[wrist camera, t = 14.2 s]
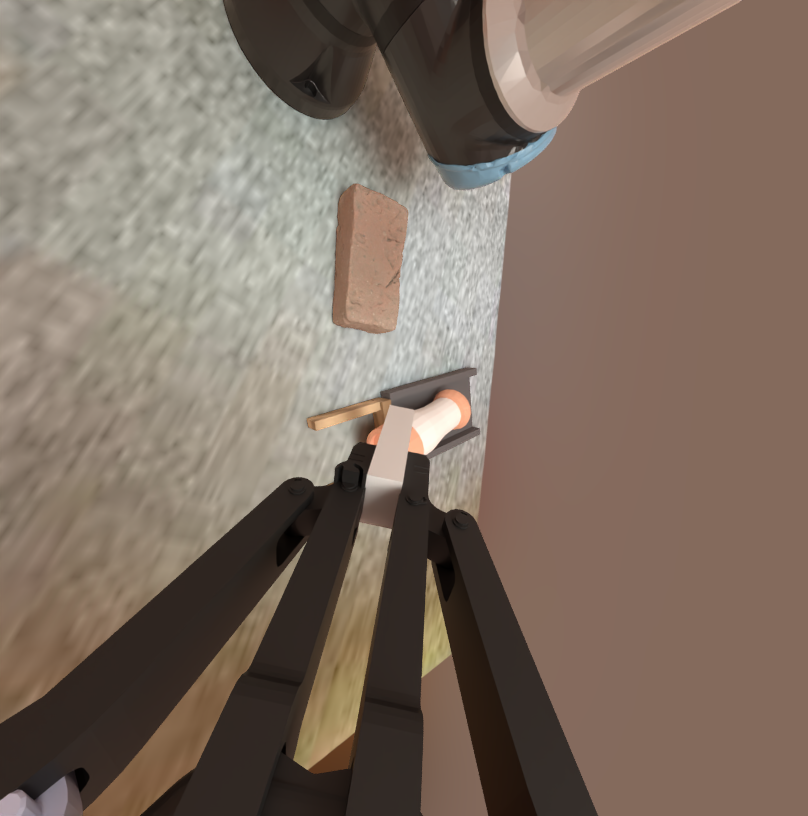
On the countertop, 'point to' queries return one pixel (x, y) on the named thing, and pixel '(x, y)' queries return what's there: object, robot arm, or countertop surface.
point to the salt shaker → (433, 421)
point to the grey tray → (425, 393)
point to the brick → (368, 260)
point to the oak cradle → (352, 414)
